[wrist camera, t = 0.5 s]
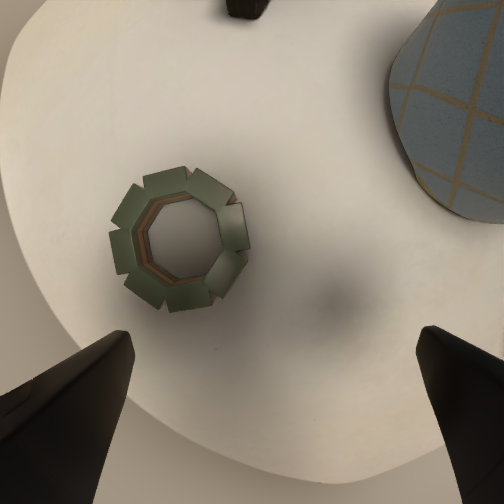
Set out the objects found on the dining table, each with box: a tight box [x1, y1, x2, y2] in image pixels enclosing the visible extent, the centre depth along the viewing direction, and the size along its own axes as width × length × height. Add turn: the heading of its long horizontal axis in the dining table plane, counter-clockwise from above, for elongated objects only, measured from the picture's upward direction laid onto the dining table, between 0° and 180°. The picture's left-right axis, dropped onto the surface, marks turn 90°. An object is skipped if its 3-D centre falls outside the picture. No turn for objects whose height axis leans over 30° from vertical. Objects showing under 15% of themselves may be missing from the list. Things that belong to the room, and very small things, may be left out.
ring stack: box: [109, 166, 251, 313], centre depth 20 cm, size 9×9×3 cm
